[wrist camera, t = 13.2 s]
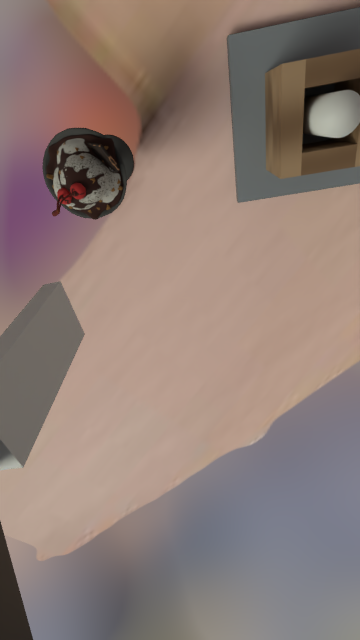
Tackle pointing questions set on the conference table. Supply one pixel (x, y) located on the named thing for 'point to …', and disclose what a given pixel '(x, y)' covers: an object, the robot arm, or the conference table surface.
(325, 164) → the collar
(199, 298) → the conference table surface
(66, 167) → the sundae
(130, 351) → the conference table surface
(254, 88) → the post stand
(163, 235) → the conference table surface
